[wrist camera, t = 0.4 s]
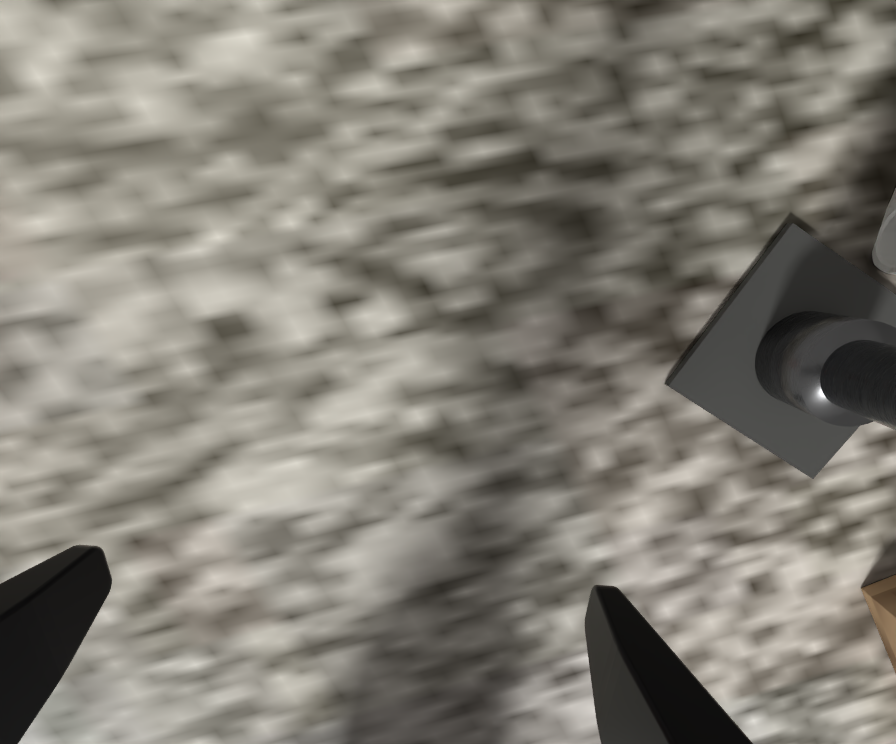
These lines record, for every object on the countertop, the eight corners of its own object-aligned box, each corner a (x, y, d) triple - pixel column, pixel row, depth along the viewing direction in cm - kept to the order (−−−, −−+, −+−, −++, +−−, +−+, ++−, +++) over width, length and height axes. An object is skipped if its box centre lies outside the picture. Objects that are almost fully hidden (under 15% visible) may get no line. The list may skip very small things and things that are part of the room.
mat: (807, 475, 23) (813, 478, 22) (664, 383, 22) (668, 386, 22) (936, 327, 21) (945, 328, 21) (786, 223, 20) (793, 222, 20)
